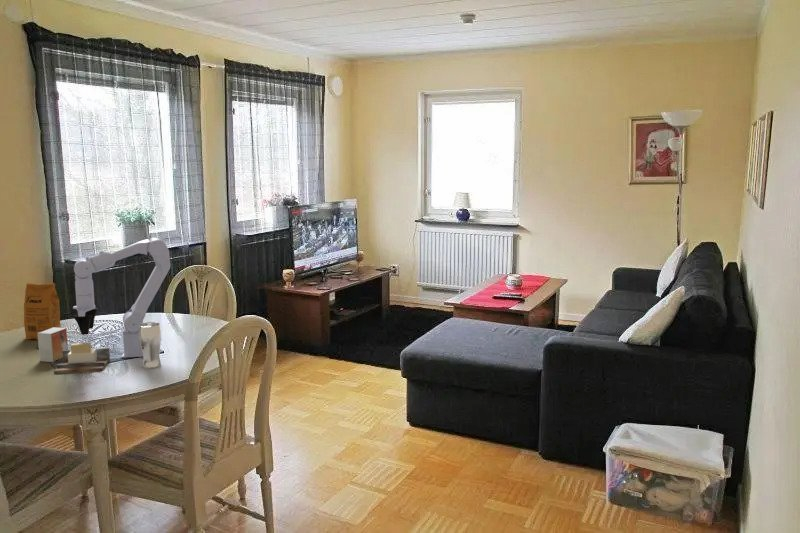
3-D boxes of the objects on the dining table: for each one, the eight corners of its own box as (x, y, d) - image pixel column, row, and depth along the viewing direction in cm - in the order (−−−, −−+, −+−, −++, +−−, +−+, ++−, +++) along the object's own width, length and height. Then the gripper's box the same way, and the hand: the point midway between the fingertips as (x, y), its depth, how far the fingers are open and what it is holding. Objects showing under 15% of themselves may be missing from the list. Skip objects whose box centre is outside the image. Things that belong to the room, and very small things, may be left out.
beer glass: (166, 364, 223) (164, 323, 221) (151, 370, 217) (149, 328, 214) (152, 361, 226) (149, 320, 224) (136, 367, 220) (134, 325, 217)
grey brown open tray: (110, 359, 228) (109, 347, 227) (102, 370, 216) (101, 358, 215) (64, 362, 224) (63, 349, 224) (54, 373, 213) (53, 360, 212)
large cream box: (97, 359, 225) (95, 340, 223) (93, 364, 220) (92, 344, 219) (72, 361, 223) (70, 341, 221) (68, 365, 218) (66, 345, 217)
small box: (53, 362, 224) (50, 333, 222) (39, 361, 225) (36, 332, 223) (69, 355, 231) (66, 327, 230) (55, 354, 233) (53, 326, 231)
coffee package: (35, 333, 259) (30, 280, 255) (65, 333, 259) (61, 280, 255) (20, 340, 249) (15, 285, 245) (52, 340, 249) (47, 285, 245)
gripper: (77, 290, 229) (79, 326, 232) (67, 298, 216) (69, 337, 218) (98, 289, 231) (100, 325, 234) (89, 298, 217) (92, 336, 220)
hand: (87, 331), depth 226 cm, fingers open, 7 cm apart
